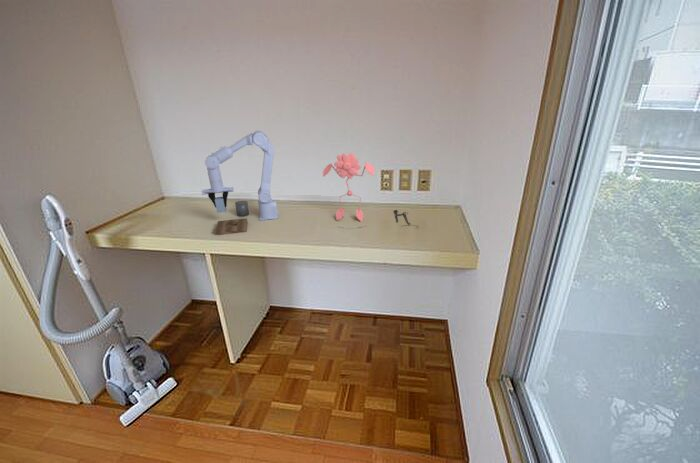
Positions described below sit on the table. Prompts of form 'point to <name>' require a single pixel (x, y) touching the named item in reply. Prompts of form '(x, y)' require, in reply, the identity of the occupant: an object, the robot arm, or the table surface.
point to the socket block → (231, 226)
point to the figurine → (348, 168)
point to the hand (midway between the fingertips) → (221, 206)
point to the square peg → (220, 205)
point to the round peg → (242, 208)
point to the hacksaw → (404, 217)
